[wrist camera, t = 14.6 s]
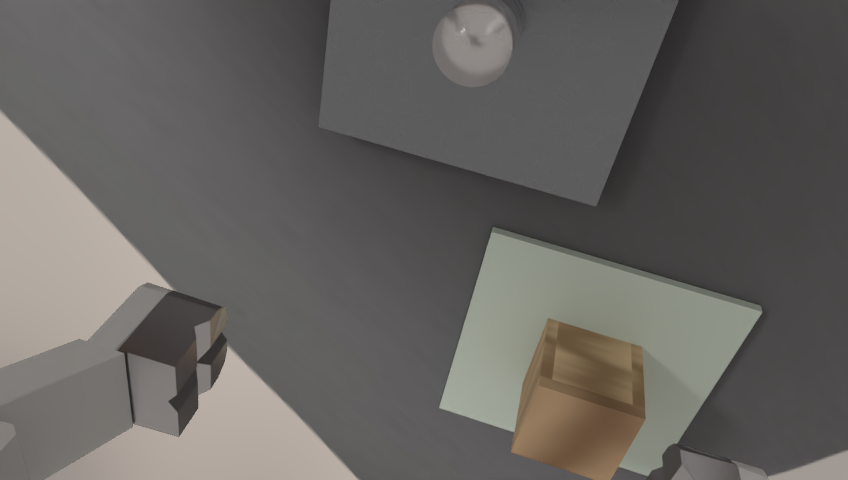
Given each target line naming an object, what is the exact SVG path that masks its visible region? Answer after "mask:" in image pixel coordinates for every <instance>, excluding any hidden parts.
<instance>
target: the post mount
mask: <svg viewBox="0 0 848 480" xmlns="http://www.w3.org/2000/svg"><path fill="white" fill-rule="evenodd" d="M678 1H679V0H331V1H330V11H329V22H328V32H327V42H326V53H325V63H324V74H323V84H322V94H321V105H320V115H319V125H318V127H320V128H324V129H327V130H330V131H334V132H337V133H341V134H344V135H348V136H351V137H355V138H358V139H362V140H365V141H369V142H372V143H376V144H379V145H383V146H386V147H390V148H393V149H397V150H400V151H404V152H407V153H411V154H414V155H417V156H421V157H424V158H428V159H431V160H435V161H438V162H442V163H445V164H449V165H452V166H456V167H459V168H463V169H466V170H470V171H473V172H477V173H480V174H484V175H487V176H491V177H494V178H498V179H501V180H504V181H508V182H511V183H515V184H518V185H522V186H525V187H529V188H532V189H536V190H539V191H543V192H546V193H550V194H553V195H557V196H560V197H564V198H567V199H571V200H574V201H578V202H581V203H585V204H588V205H591V206H595V207H596V206H597V203H598V201H599V198H600V196H601V193H602V191H603V188H604V186H605V183H606V181H607V178H608V176H609V173H610V171H611V168H612V166H613V163H614V161H615V158H616V156H617V153H618V151H619V148H620V146H621V143H622V141H623V138H624V136H625V133H626V131H627V128H628V126H629V124H630V121H631V119H632V116H633V114H634V111H635V109H636V106H637V104H638V101H639V99H640V96H641V94H642V91H643V89H644V86H645V84H646V81H647V79H648V76H649V74H650V71H651V69H652V66H653V64H654V61H655V59H656V56H657V54H658V51H659V49H660V46H661V44H662V41H663V39H664V36H665V34H666V31H667V29H668V26H669V24H670V21H671V19H672V16H673V14H674V11H675V9H676V6H677V4H678Z"/></svg>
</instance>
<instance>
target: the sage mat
mask: <svg viewBox="0 0 848 480" xmlns="http://www.w3.org/2000/svg"><path fill="white" fill-rule="evenodd" d="M761 314H762V308H761V306H760V305H757V304H753V303H750V302H747V301H743V300H740V299H736V298H733V297H730V296H726V295H723V294H719V293H716V292H713V291H709V290H706V289H703V288H699V287H696V286H692V285H689V284H686V283H682V282H679V281H675V280H672V279H669V278H665V277H662V276H659V275H655V274H652V273H648V272H645V271H642V270H638V269H635V268H631V267H628V266H625V265H621V264H618V263H615V262H611V261H608V260H604V259H601V258H598V257H594V256H591V255H587V254H584V253H581V252H577V251H574V250H571V249H567V248H564V247H560V246H557V245H554V244H550V243H547V242H543V241H540V240H537V239H533V238H530V237H526V236H523V235H520V234H516V233H513V232H510V231H506V230H503V229H499V228H496V227H493V229H492V232H491V235H490V239H489V242H488V245H487V249H486V252H485V256H484V259H483V262H482V266H481V269H480V272H479V276H478V279H477V282H476V286H475V289H474V293H473V296H472V299H471V303H470V306H469V309H468V313H467V316H466V319H465V323H464V326H463V330H462V333H461V336H460V340H459V343H458V346H457V350H456V353H455V356H454V360H453V363H452V367H451V370H450V373H449V377H448V380H447V383H446V387H445V390H444V393H443V397H442V400H441V404H440V407H439V408H442V409H445V410H448V411H451V412H454V413H457V414H460V415H463V416H466V417H469V418H472V419H475V420H478V421H481V422H484V423H487V424H490V425H493V426H496V427H499V428H503V429H506V430H509V431H512V432H515V426H516V420H517V414H518V408H519V402H520V396H521V390H522V384H523V381H524V378H525V376H526V373H527V371H528V368H529V366H530V363H531V360H532V358H533V355H534V353H535V350H536V348H537V345H538V343H539V340H540V338H541V335H542V332H543V330H544V327H545V325H546V322H547V320H548V318H549V319H553V320H556V321H559V322H562V323H566V324H569V325H572V326H576V327H579V328H582V329H585V330H589V331H592V332H595V333H598V334H602V335H605V336H608V337H612V338H615V339H618V340H621V341H625V342H628V343H631V344H634V345H638V346H641V347H642V353H643V374H644V395H645V415H646V420H645V422H644V423H643V425H642V427H641V428H640V430H639V432H638V434H637V435H636V437H635V439H634V441H633V442H632V444H631V446H630V447H629V449H628V451H627V453H626V454H625V456H624V458H623V459H622V461H621V463H620V465H619V466H618V467H622V468H625V469H628V470H631V471H634V472H637V473H640V474H643V475H646V476H649V474H650V472H651V471H652V470H655V469H657V468H660V467H662V466H663V461H662V455H663V453H664V452H665V450H666V449H667V448H668V446H670V445H672V444H674V443H675V444H677V443H678V441H679V440H680V438H681V437H682V435H683V434H684V432H685V430H686V429H687V427H688V426H689V424H690V423H691V421H692V420H693V418H694V417H695V415H696V414H697V412H698V411H699V409H700V407H701V406H702V404H703V403H704V401H705V400H706V398H707V397H708V395H709V394H710V392H711V391H712V389H713V387H714V386H715V384H716V383H717V381H718V380H719V378H720V377H721V375H722V374H723V372H724V371H725V369H726V368H727V366H728V364H729V363H730V361H731V360H732V358H733V357H734V355H735V354H736V352H737V351H738V349H739V348H740V346H741V344H742V343H743V341H744V340H745V338H746V337H747V335H748V334H749V332H750V331H751V329H752V328H753V326H754V325H755V323H756V321H757V320H758V318H759V317H760V315H761Z"/></svg>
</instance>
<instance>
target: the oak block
mask: <svg viewBox="0 0 848 480" xmlns="http://www.w3.org/2000/svg"><path fill="white" fill-rule="evenodd" d="M645 420H646V415H645V395H644V374H643V353H642V347H641V346H638V345H634V344H631V343H628V342H625V341H621V340H618V339H615V338H612V337H608V336H605V335H602V334H598V333H595V332H592V331H589V330H585V329H582V328H579V327H576V326H572V325H569V324H566V323H562V322H559V321H556V320H553V319H549V318H548V320H547V322H546V325H545V327H544V330H543V332H542V335H541V338H540V340H539V343H538V345H537V348H536V350H535V353H534V355H533V358H532V360H531V363H530V366H529V368H528V371H527V373H526V376H525V378H524V381H523V384H522V390H521V396H520V402H519V408H518V414H517V420H516V426H515V432H514V438H513V444H512V449H511V452H512V453H515V454H518V455H521V456H524V457H527V458H530V459H533V460H536V461H539V462H542V463H545V464H548V465H551V466H555V467H558V468H561V469H564V470H567V471H570V472H573V473H576V474H579V475H582V476H585V477H588V478H591V479H594V480H611V478H612V477H613V475H614V473H615V471H616V470H617V468H618V466H619V465H620V463H621V461H622V459H623V458H624V456H625V454H626V453H627V451H628V449H629V447H630V446H631V444H632V442H633V441H634V439H635V437H636V435H637V434H638V432H639V430H640V428H641V427H642V425H643V423H644V422H645Z"/></svg>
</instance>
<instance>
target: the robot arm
mask: <svg viewBox="0 0 848 480" xmlns="http://www.w3.org/2000/svg"><path fill="white" fill-rule="evenodd" d="M227 323H228V321H227V309H225V308H224V307H222V306H218V305H215V304H212V303H209V302H206V301H203V300H200V299H197V298H194V297H191V296H188V295H185V294H182V293H179V292H176V291H172V290H169V289H166V288H163V287H160V286H157V285H153V284H151V283H146V284H143V285H141V286H140V287H138V288H137V289H136V290H135V292H133V293H132V294H131V295H130V297H129V298H128V299H127V300H126V301H125V302H124V303H123V304H122V305H121V306H120V307H119V308H118V309H117V310H116V311H115V312H114V313H113V314H112V316H111V317H110V318H109V319H108V320H107V321H106V322H105V323H104V324H103V325H102V326H101V327H100V328H99V329H98V330H97V331H96V332H95V333H94V335H93V336H92V337H91V338H90V339H89V340H88V341H84V340H80V339H78V340H75V341H73V342H70V343H67V344H65V345H62V346H59V347H57V348H54V349H51V350H49V351H46V352H43V353H40V354H38V355H35V356H32V357H30V358H27V359H24V360H22V361H19V362H16V363H14V364H11V365H8V366H6V367H3V368H0V480H44V479H46V478H47V477H49V476H51V475H53V474H54V473H56V472H58V471H59V470H61V469H63V468H64V467H66V466H68V465H69V464H71V463H73V462H75V461H76V460H78V459H80V458H81V457H83V456H85V455H86V454H88V453H90V452H91V451H93V450H95V449H96V448H98V447H100V446H101V445H103V444H104V443H106V442H108V441H110V440H111V439H113V438H115V437H116V436H118V435H120V434H122V433H123V432H125V431H127V430H128V429H130V428H132V427H133V424H135V425H139V426H142V427H146V428H150V429H153V430H156V431H160V432H163V433H167V434H170V435H174V436H177V437H179V436H180V435H181V433H182V432H183V430H184V429H185V427H186V425H187V424H188V423H189V421H190V420H191V418H192V417H193V415H194V414H195V412H196V411H197V409H198V395H199V394H201V393H204V392H206V391H208V390H210V389H211V388H212V386H213V384H214V383H215V381H216V380H217V378H218V376H219V374H220V372H221V369H222V367H223V364H224V362H225V357H226V352H227V339H226V338H225V336H224V335H223V334H222V330H223V329H224V327H225V326H226V325H227ZM662 461H663V467H660V468H657V469H655V470H652V471H651V472H650V474H649V476H648V477H647V479H646V480H768V476H767V475H766V473H765V472H764V471H763V469H760V468H756V467H753V466H750V465H746V464H743V463H740V462H736V461H731V460H729V459H727V458H723V457H720V456H716V455H713V454H710V453H706V452H703V451H699V450H696V449H692V448H689V447H686V446H682V445H679V444H675V443H674V444H672V445H670V446H668V448H667V449H666V450H665V452H664V453H663V455H662Z"/></svg>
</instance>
